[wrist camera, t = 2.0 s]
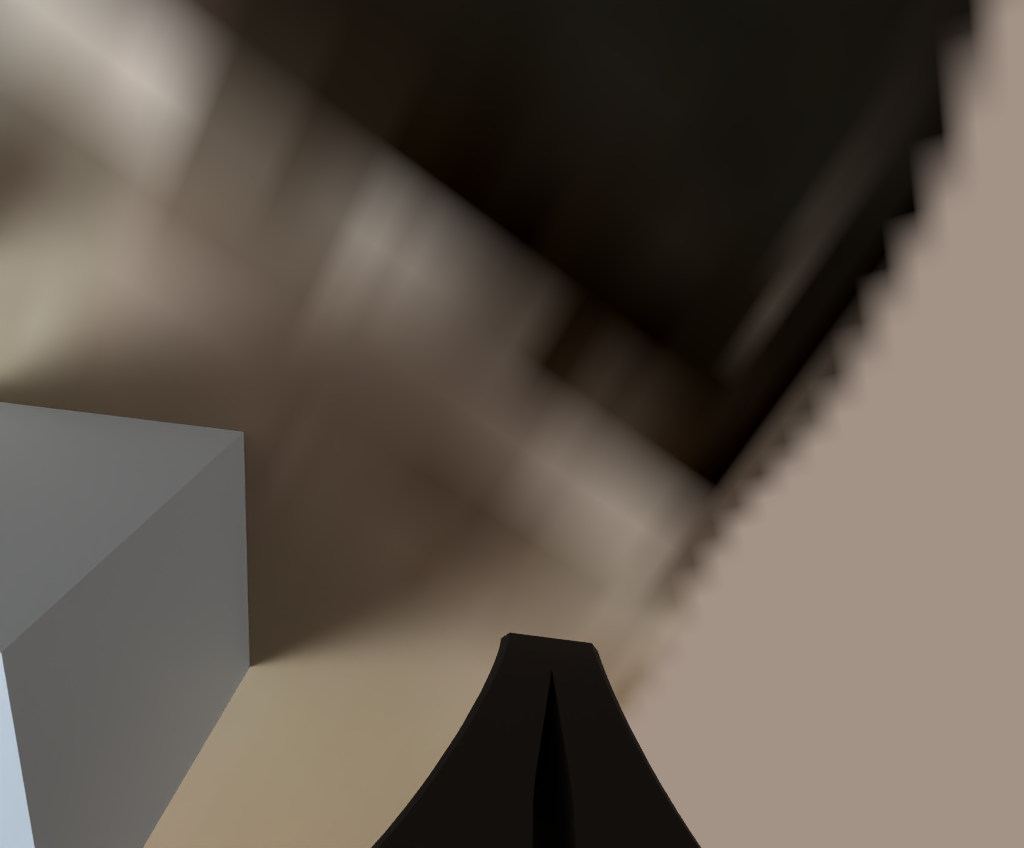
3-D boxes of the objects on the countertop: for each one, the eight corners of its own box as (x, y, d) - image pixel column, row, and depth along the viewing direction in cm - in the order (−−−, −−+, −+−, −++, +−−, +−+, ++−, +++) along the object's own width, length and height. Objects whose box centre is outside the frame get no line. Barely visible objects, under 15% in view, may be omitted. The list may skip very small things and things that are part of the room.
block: (250, 665, 15) (58, 989, 9) (2, 633, 15) (-341, 934, 9) (245, 430, 13) (1, 652, 7) (-39, 395, 13) (-496, 589, 7)
